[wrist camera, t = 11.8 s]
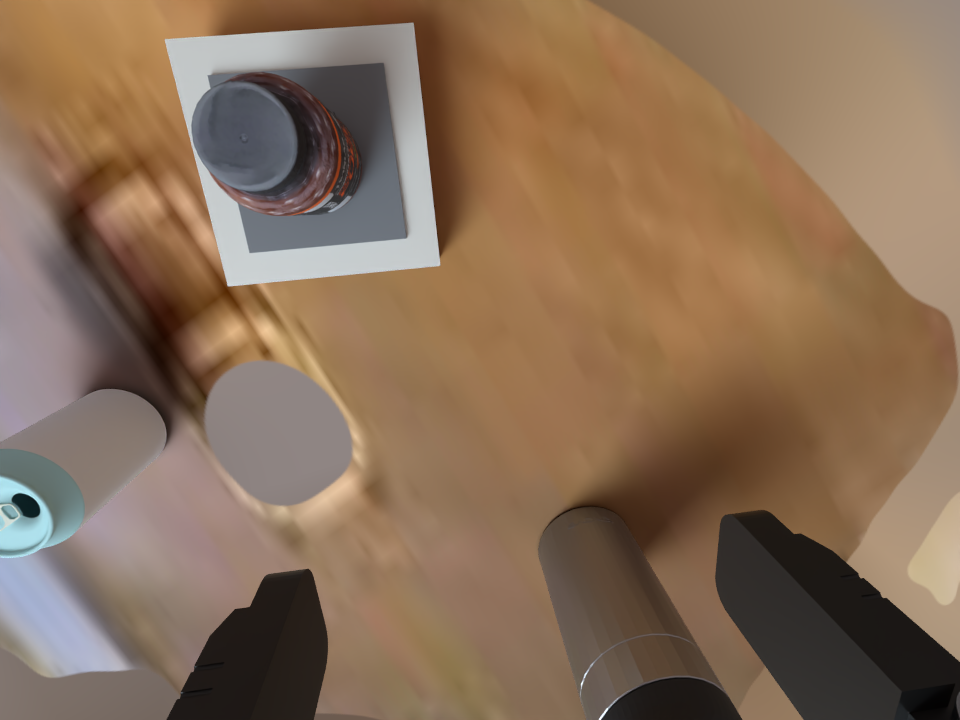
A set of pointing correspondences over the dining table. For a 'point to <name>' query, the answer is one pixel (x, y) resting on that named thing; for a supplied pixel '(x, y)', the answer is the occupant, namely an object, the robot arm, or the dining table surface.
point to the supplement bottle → (275, 146)
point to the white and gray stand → (372, 122)
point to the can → (73, 467)
